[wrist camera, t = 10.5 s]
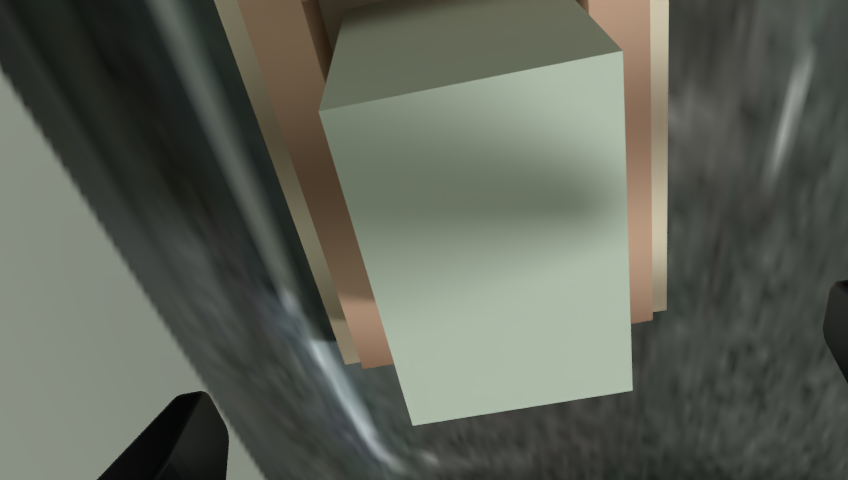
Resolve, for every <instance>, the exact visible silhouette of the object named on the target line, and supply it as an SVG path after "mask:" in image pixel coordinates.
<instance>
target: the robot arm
mask: <svg viewBox="0 0 848 480" xmlns="http://www.w3.org/2000/svg"><path fill="white" fill-rule="evenodd" d="M823 332H824V337H825V340H826V343H827V345H828V347H829V349H830V351H831V353H832V354H833V356H834V358H835V360H836V362H837V364H838V366H839V368H840V370H841V372H842V373H843V375H844V377H845V379H846V381H847V383H848V280H843V281H838V282H836V283H834V284H833V285H832V287H831V288H830V292H829V297H828V302H827V308H826V313H825V319H824V325H823ZM228 447H229V436H228V431H227V427H226V425H225V423H224V421H223V419H222V418H221V416H220V414H219V412H218V410H217V408H216V406H215V405H214V403H213V401H212V399H211V397H210V396H209V394H207V393H206V392H203V391H198V392H192V393H187V394H182V395H179V396H177V397H176V398H174V399H173V400H172V401H171V402H170V403H169V405H168V406H167V407H166V408H165V409H164V410H163V411H162V412H161V413H160V414H159V415H158V416H157V417H156V418H155V419H154V420H153V421H152V422H151V423H150V424H149V425H148V427H147V428H146V429H145V430H144V431H143V432H142V433H141V434H140V435H139V436H138V437H137V438H136V439H135V440H134V441H133V442H132V443H131V445H130V446H129V447H128V448H127V449H126V450H125V451H124V452H123V453H122V454H121V455H120V456H119V457H118V458H117V459H116V460H115V461H114V462H113V463H112V464H111V466H110V467H109V468H108V469H107V470H106V471H105V472H104V473H103V474H102V475H101V476H100V477H99V478H98V479H97V480H226V471H227V459H228Z"/></svg>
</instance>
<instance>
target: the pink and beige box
mask: <svg viewBox="0 0 848 480" xmlns="http://www.w3.org/2000/svg"><path fill="white" fill-rule="evenodd" d="M383 1H388V0H214V2H215V5H216V7H217V10H218V13H219V16H220V19H221V21H222V24H223V27H224V30H225V32H226V35H227V38H228V41H229V44H230V46H231V49H232V52H233V55H234V57H235V60H236V63H237V66H238V68H239V71H240V74H241V77H242V80H243V82H244V85H245V88H246V91H247V93H248V96H249V99H250V102H251V104H252V107H253V110H254V113H255V116H256V118H257V121H258V124H259V127H260V129H261V132H262V135H263V138H264V140H265V143H266V146H267V149H268V152H269V154H270V157H271V160H272V163H273V165H274V168H275V171H276V174H277V177H278V179H279V182H280V185H281V188H282V190H283V193H284V196H285V199H286V201H287V204H288V207H289V210H290V213H291V215H292V218H293V221H294V224H295V226H296V229H297V232H298V235H299V237H300V240H301V243H302V246H303V249H304V251H305V254H306V257H307V260H308V262H309V265H310V268H311V271H312V274H313V276H314V279H315V282H316V285H317V287H318V290H319V293H320V296H321V298H322V301H323V304H324V307H325V310H326V312H327V315H328V318H329V321H330V323H331V326H332V329H333V332H334V334H335V337H336V340H337V343H338V346H339V348H340V351H341V354H342V357H343V359H344V362H345V365H346V364H351V363H357V362H361V365H362V367H363V369H366V368H372V367H378V366H384V365H390V364H394V361H393V358H392V354H391V351H390V348H389V344H388V341H387V338H386V335H385V331H384V328H383V325H382V321H381V318H380V315H379V311H378V308H377V305H376V301H375V298H374V295H373V291H372V288H371V285H370V281H369V278H368V275H367V271H366V268H365V265H364V261H363V258H362V255H361V251H360V248H359V245H358V241H357V238H356V235H355V231H354V228H353V225H352V221H351V218H350V215H349V211H348V208H347V205H346V201H345V198H344V195H343V191H342V188H341V185H340V181H339V178H338V175H337V171H336V168H335V165H334V161H333V158H332V155H331V151H330V148H329V145H328V141H327V138H326V135H325V131H324V128H323V125H322V121H321V118H320V115H319V108H320V104H321V100H322V96H323V92H324V89H325V85H326V81H327V77H328V73H329V70H330V66H331V62H332V58H333V54H334V51H335V47H336V43H337V39H338V35H339V32H340V28H341V24H342V20H343V16H344V13H345V9H350V8H354V7H359V6H364V5H369V4H373V3H378V2H383ZM576 1H577V2H578V4H579V5H580V6H581V7H582V8H583V9H584V10H585V11H586V12H587V13H588V14H589V15H590V16H591V17H592V18H593V19H594V21H595V22H596V23H597V24H598V25H599V26H600V27H601V28H602V29H603V30H604V31H605V32H606V33H607V34H608V35H609V37H610V38H611V39H612V40H613V41H614V42H615V43H616V44H617V45H618V46H619V47H620V48H621V49H622V50H623V72H624V107H625V143H626V178H627V214H628V249H629V284H630V320H631V323H637V322H643V321H649V320H653V312H656V311H662V310H666V302H667V162H668V22H669V0H576Z"/></svg>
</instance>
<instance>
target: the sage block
mask: <svg viewBox="0 0 848 480" xmlns="http://www.w3.org/2000/svg"><path fill="white" fill-rule="evenodd" d="M319 115H320V118H321V121H322V125H323V128H324V131H325V135H326V138H327V141H328V145H329V148H330V151H331V155H332V158H333V161H334V165H335V168H336V171H337V175H338V178H339V181H340V185H341V188H342V191H343V195H344V198H345V201H346V205H347V208H348V211H349V215H350V218H351V221H352V225H353V228H354V231H355V235H356V238H357V241H358V245H359V248H360V251H361V255H362V258H363V261H364V265H365V268H366V271H367V275H368V278H369V281H370V285H371V288H372V291H373V295H374V298H375V301H376V305H377V308H378V311H379V315H380V318H381V321H382V325H383V328H384V331H385V335H386V338H387V341H388V344H389V348H390V351H391V354H392V358H393V361H394V364H395V368H396V371H397V374H398V378H399V381H400V384H401V388H402V391H403V394H404V398H405V401H406V404H407V408H408V411H409V414H410V418H411V421H412V424H413V426H414V425H420V424H426V423H433V422H439V421H445V420H451V419H458V418H464V417H470V416H476V415H483V414H489V413H495V412H501V411H508V410H514V409H520V408H526V407H533V406H539V405H545V404H551V403H558V402H564V401H570V400H576V399H583V398H589V397H595V396H602V395H608V394H614V393H620V392H627V391H632V355H631V320H630V284H629V249H628V214H627V178H626V143H625V107H624V72H623V50H622V49H621V48H620V47H619V46H618V45H617V44H616V43H615V42H614V41H613V40H612V39H611V38H610V37H609V35H608V34H607V33H606V32H605V31H604V30H603V29H602V28H601V27H600V26H599V25H598V24H597V23H596V22H595V21H594V19H593V18H592V17H591V16H590V15H589V14H588V13H587V12H586V11H585V10H584V9H583V8H582V7H581V6H580V5H579V4H578V2H577V1H576V0H388V1H383V2H378V3H373V4H369V5H364V6H359V7H354V8H350V9H345V13H344V16H343V20H342V24H341V28H340V32H339V35H338V39H337V43H336V47H335V51H334V54H333V58H332V62H331V66H330V70H329V73H328V77H327V81H326V85H325V89H324V92H323V96H322V100H321V104H320V108H319Z"/></svg>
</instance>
